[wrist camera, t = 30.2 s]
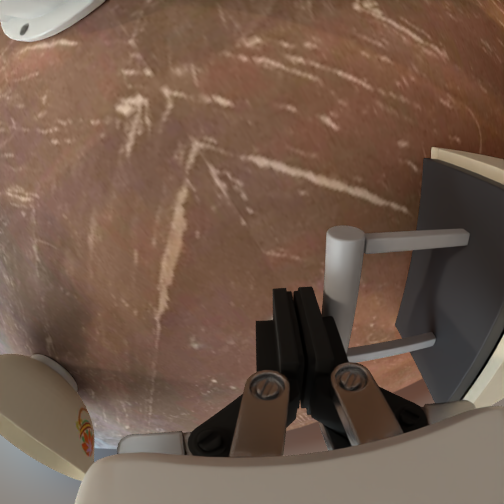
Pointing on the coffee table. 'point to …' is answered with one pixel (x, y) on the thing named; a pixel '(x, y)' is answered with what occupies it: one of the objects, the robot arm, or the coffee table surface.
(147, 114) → the coffee table surface
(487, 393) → the cream drawer box
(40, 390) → the bowl
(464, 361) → the dark grey drawer
